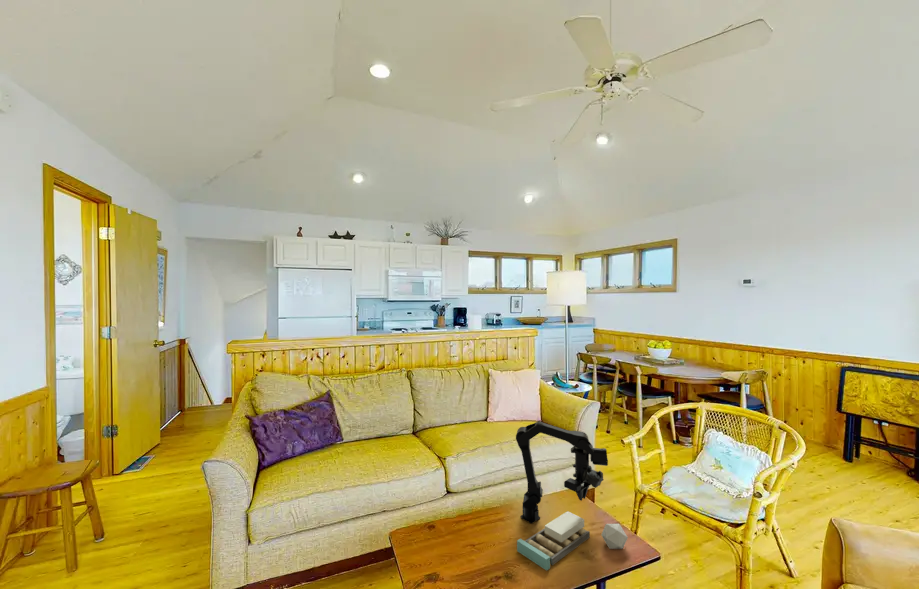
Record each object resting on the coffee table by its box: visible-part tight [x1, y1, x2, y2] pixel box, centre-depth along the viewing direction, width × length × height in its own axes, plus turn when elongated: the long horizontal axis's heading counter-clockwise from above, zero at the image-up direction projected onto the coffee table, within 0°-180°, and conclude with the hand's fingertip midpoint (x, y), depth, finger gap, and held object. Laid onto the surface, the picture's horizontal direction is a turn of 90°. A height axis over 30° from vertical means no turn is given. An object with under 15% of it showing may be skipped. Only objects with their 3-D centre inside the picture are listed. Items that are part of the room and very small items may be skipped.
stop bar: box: [516, 538, 551, 572], centre depth 143 cm, size 14×2×4 cm, turn 40°
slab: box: [544, 511, 585, 543], centre depth 156 cm, size 8×16×3 cm, turn 130°
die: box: [600, 523, 629, 550], centre depth 151 cm, size 8×9×10 cm
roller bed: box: [524, 527, 591, 566], centre depth 153 cm, size 13×25×3 cm, turn 130°
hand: (582, 499), depth 165 cm, fingers open, 2 cm apart
